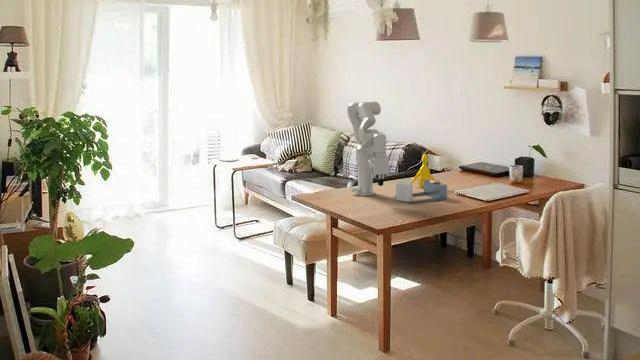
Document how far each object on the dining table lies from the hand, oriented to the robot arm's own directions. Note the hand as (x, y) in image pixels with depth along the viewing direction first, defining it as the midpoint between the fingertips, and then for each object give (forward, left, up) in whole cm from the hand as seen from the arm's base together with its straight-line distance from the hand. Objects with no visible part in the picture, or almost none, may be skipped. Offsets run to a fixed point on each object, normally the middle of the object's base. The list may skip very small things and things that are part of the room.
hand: (380, 185), depth 345 cm
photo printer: (+16, +1, -12) cm, 20 cm away
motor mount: (+28, +1, -11) cm, 30 cm away
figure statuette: (+46, +29, -12) cm, 56 cm away
